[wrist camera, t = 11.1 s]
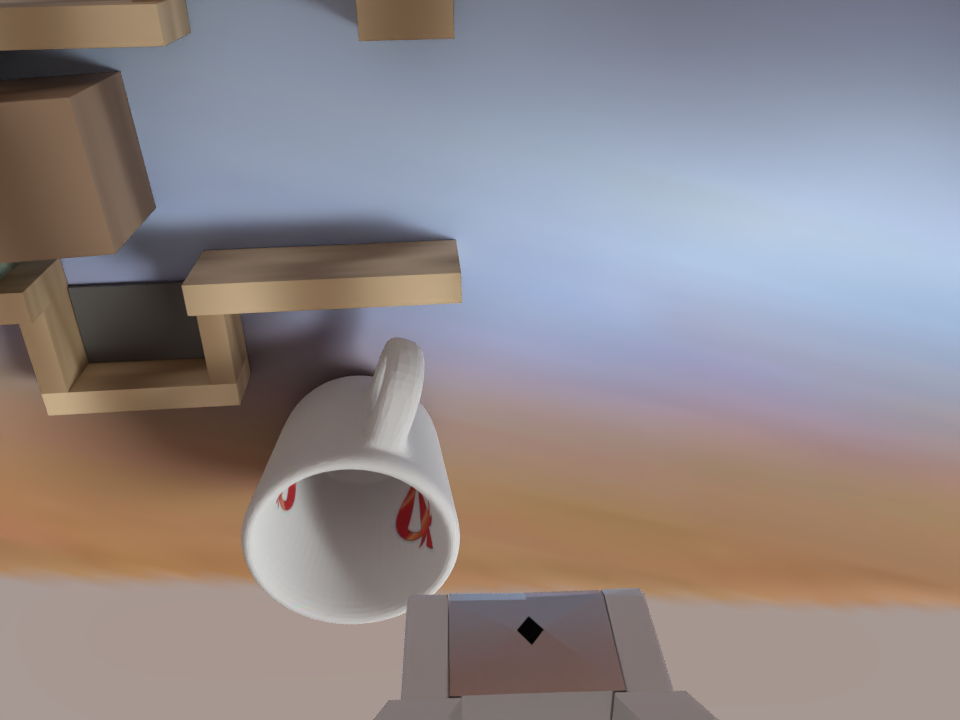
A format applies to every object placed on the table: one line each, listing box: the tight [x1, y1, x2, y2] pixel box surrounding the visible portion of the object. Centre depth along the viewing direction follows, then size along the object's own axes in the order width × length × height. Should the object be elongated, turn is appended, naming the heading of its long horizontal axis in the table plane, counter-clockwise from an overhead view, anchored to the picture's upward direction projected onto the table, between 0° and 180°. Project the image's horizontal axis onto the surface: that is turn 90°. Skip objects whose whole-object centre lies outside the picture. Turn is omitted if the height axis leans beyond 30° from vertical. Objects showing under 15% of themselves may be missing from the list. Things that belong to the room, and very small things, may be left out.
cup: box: [241, 338, 460, 624], centre depth 32 cm, size 11×8×8 cm
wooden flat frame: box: [0, 0, 462, 416], centre depth 28 cm, size 18×19×4 cm
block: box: [0, 71, 156, 263], centre depth 27 cm, size 5×5×5 cm
